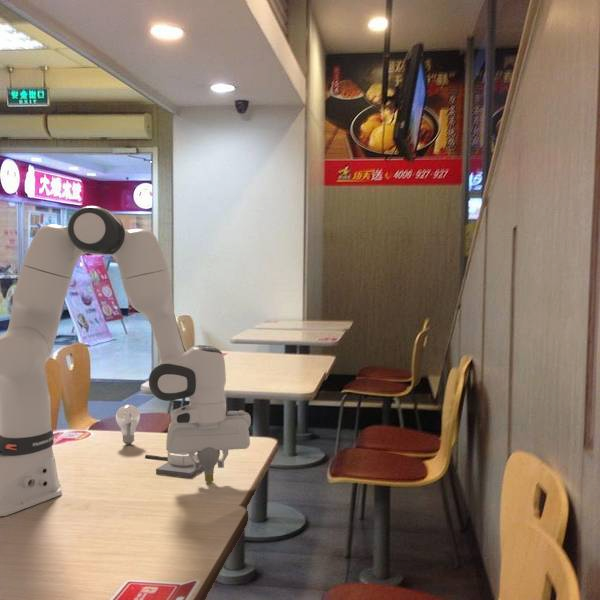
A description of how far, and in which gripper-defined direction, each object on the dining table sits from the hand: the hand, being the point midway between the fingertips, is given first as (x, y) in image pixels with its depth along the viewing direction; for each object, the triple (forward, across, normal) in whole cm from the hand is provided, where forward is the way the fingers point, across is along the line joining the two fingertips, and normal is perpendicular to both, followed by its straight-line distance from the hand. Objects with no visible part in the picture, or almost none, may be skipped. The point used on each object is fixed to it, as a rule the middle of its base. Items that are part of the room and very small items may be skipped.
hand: (208, 468), depth 152 cm
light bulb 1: (+4, +22, -37) cm, 44 cm away
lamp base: (+4, +9, -16) cm, 19 cm away
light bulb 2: (+4, 0, 0) cm, 4 cm away
